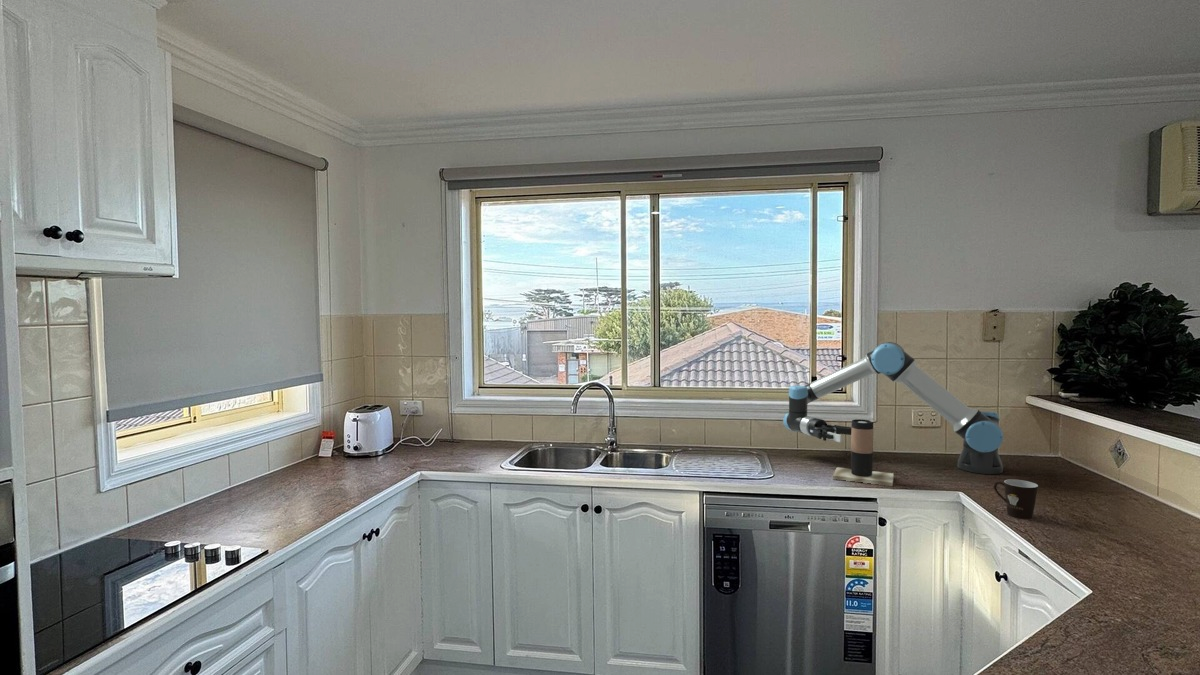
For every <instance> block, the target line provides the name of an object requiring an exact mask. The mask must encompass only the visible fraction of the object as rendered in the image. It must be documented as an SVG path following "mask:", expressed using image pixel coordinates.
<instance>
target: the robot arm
mask: <svg viewBox="0 0 1200 675" xmlns="http://www.w3.org/2000/svg"><path fill="white" fill-rule="evenodd" d="M874 374H875V375H879V374H883V375H884V376H886V377H887V378H888V379H890V380H891V381H892V382H893V383H901V384H902V385H903V386H904V387H906V388H907V390H909V391H911V392H912V394H914V395H915V396H917V397H918V398H919V399H920V400H921V401H923V402H924V403H925V404H926V405H928V406H929V407H930V408H931V409H933V410H934V411H935V412H936V413H938V414H939V415H940V416H941V417H942V418H943V419H944V420H946V421H947V422H949V423H950V424H951V425H952V426H953V432H954V433H956V434H957V435H958V436H959V437H961V438H962V439H963V440H962V441H963V442H962V443H963V444H962V445H963V446H962V450H961V453H960V455H959V457H958V458H957V468H958V469H960V470H962V471H965V472H969V473H975V474H982V475H983V474H984V475H999V474H1002V473H1004V472H1003V470H1004V466H1003V462H1002V460H1001V457H1000V454H999V448H1000V447H1001V445H1002V444H1003V439H1004V433H1003V430H1002V429H1001V427H1000V426H999V425H1000V424H999V421H1000V416H999V413H998V412H996V411H995V412H994V411H984V410H979V409H978V408H970V407H968V406H967V405H966V404H965V403H964V402H962V400H960V399H958V397H956V396H954V394H952V393H951V392H950V391H948V390H947V388H945V387H943V386H942V384H940V383H938V382H937V381H936V380H935V379H933V378H932V377H931V376H930V375H928V374H927V373H926V372H925V371H923V370H922V369H921V368H919V367H918V366H917V361H916V359H915V358H914V357H912V356H910V354H908V353H907V352H906V351H905V350H904V348H903V347H902V346H901V344H898V343H896V342H892V341H887V342H883V343H881V344H879V345H877V346H876V347H875V348H874V349H873V350H871V351H869V352H867V353H866V354H865V357H863V358H861V359H858V360H856V361H855V362H854V361H853V362H851V363H850V364H848V365H845V366H843V367H841V368H839V369H837V370H835V371H833V372H831V373H829V374H827V375H825V376H823V377H820V378H818V379H816V380H814V381H811V382H810V383H808V384H805V385H791V386H790V387H789V389H788V412H787V413H786V414H785V415H784V417H783V419H782V422H783V426H784V427H785V428H786V429H788V430H790V431H791V432H794V433H795V432H796V433H800V434H805V435H807V437H814V438H817V439H819V440H821V439H822V441H825V442H826V441H827V440H828V441H829V440H830V441H833V442H837V443H842V438H843V437H842V435H845V436H846V435H847V436H851V429H852V426H844V425H837V424H834V425H832V424H828V423H827V422H826V420H824V419H822V418H819V417H818V418H816V417H813V416H809V415H808V405H809V404H810V403H812V402H815V401H817V400H819V399H820V398H823V397H826V396H828V395H830V394H832V393H834V392H837V391H838V390H840V389H843V388H845V387H847V386H849V385H852V384H854V383H856V382H858V381H861V380H863V379H865V378H867V377H869V376H871V375H874Z"/></svg>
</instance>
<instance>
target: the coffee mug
mask: <svg viewBox="0 0 1200 675" xmlns="http://www.w3.org/2000/svg"><path fill="white" fill-rule="evenodd" d="M997 485H1001V486H1003V487H1004V494H1005V497H1004V496H1003V495H1002V494H1001V493H999V491H998V490H997ZM1038 488H1039V485H1038V484H1037V483H1035V482H1032V481H1028V480H1023V479H1022V480H1021V479H1005V480H1004V481H1002V482H1001V481H997V482H995V483H994V485H993V489H994V491H995V493H996V494H997V495H998V497H1000V498H1001V499H1002V500H1003V501H1004V502H1005V505H1006V514H1007V515H1008V516H1010V517H1011V518H1015V519H1020V520H1031V519H1033V518H1034V511H1035V505H1036V500H1037V493H1038Z"/></svg>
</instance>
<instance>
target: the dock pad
mask: <svg viewBox="0 0 1200 675" xmlns="http://www.w3.org/2000/svg"><path fill="white" fill-rule="evenodd" d="M833 479H837V480H836V481H841V480H846V481H845V482H850V481H855V482H854V483H858V482H863V483H862V484H867V483H871V484H870V485H875V484H879V485H878V486H884V485H889V486H888V487H893V486H894V472H884V471H877V470H876V471H875V470H872V476H869V477H862V476H856V475H853V474H852V473H851V468H846V467H836V469H835V471H834V473H833V475H832V480H833Z"/></svg>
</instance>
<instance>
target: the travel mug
mask: <svg viewBox="0 0 1200 675" xmlns="http://www.w3.org/2000/svg"><path fill="white" fill-rule="evenodd" d="M851 427H852V429H851V435H850V436H851V437H850V438H851V439H850V467H851V468H850V469H851V473H852V474H853V475H856V476H862V477H869V476H872V471H873V464H874V463H873V462H874V421H873V422H872V421H871V420H868V419H862V418H861V419H857V418H856V419H853V420H851Z"/></svg>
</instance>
